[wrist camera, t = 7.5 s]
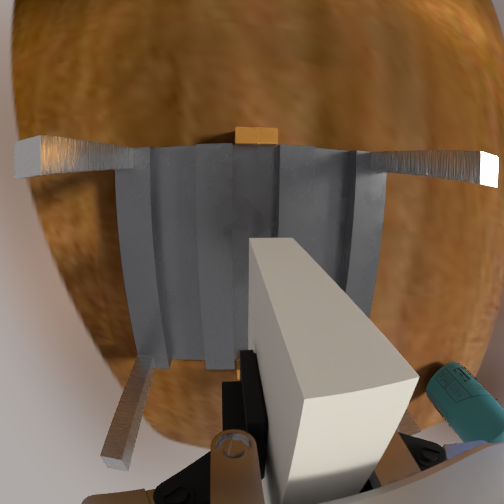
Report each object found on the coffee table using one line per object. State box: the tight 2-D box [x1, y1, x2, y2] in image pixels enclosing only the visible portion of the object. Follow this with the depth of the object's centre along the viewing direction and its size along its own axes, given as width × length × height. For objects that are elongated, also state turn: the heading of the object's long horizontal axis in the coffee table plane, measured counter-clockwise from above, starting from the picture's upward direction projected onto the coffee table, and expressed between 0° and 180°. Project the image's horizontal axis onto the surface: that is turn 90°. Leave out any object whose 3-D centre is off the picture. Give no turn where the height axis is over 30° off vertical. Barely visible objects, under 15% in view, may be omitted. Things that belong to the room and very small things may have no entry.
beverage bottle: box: [426, 362, 504, 443], centre depth 22 cm, size 6×7×20 cm
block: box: [248, 238, 420, 504], centre depth 10 cm, size 10×2×10 cm, turn 0°
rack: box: [14, 127, 498, 471], centre depth 18 cm, size 21×21×14 cm
